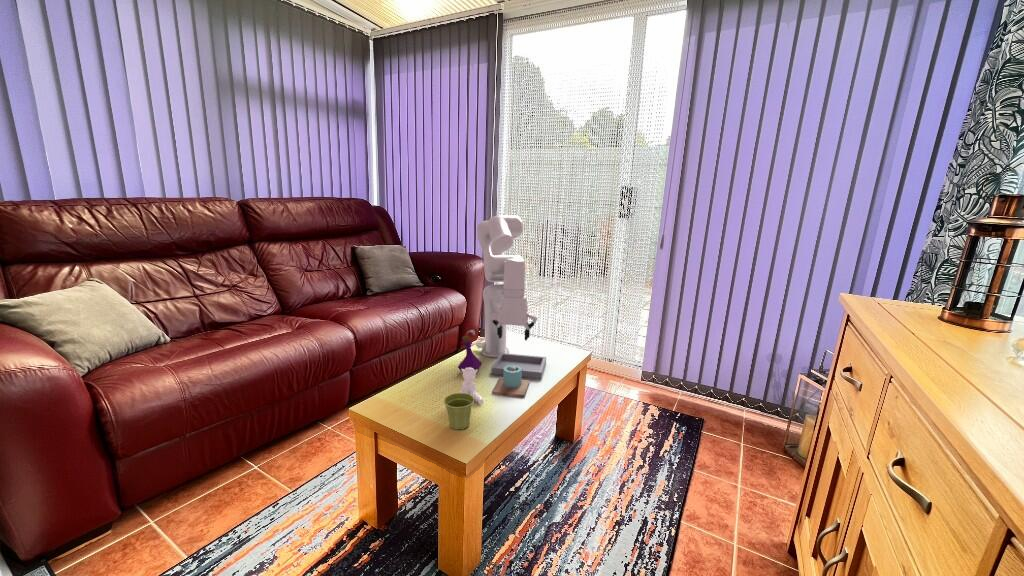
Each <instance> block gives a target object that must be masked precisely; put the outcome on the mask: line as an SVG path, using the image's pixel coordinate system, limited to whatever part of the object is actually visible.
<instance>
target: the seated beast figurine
mask: <svg viewBox="0 0 1024 576" xmlns="http://www.w3.org/2000/svg"><path fill="white" fill-rule="evenodd" d="M461 370H462V371H461ZM461 370H460V371H461V373H462V372H463V373H462V377H463V379H464V380H463V381H462V384H461V388H460V391H459V393H467V394H470V395H472V396H473V397H474V403H473V404H479V405H480V406H481V404H482V405H483V403H484V400H483V398H482V396H481V395H480V394H479V393H478V390H477V388H476V383H475V381H474V379H475V378H476V376H477V375H476V374H477V372H478V371H479V369H477V370H478V371H477V370H474V369H473V368H471V367H469V368H465V369H461Z"/></svg>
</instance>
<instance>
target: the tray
mask: <svg viewBox="0 0 1024 576" xmlns="http://www.w3.org/2000/svg"><path fill="white" fill-rule="evenodd" d="M509 365H516V366H519V367H521V368H522V379H532V380H541V381H542V378H543V375H544V372H545V368H546V365H547V356H539V355H538V356H537V355H526V354H517V353H509V354H507V353H500V355H499V357H497V359H496V360H495V362H494V364H492V367H491V375H493V376H500V377H501V376H503V370H504V367H506V366H509Z"/></svg>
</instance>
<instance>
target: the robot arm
mask: <svg viewBox="0 0 1024 576" xmlns="http://www.w3.org/2000/svg"><path fill="white" fill-rule="evenodd" d="M523 231H524V224H523V221H522V218H520V216H518V215H495V216H491V217H490V218H489V220H483V221H480V222H478V224H477V226H476V236H477V239H478V243H479V245H480V247H481V251H482V254H483V267H484V268H483V269H484V276H485V279H486V281H487V282H490V283H502V284H489V285H487V286H485V287H484V289H483V290H482V298H483V306H484V341H482V342H481V341H476V343H475V345H476V346H475V347H476V348H477V349H478V348H479V349H481V354H482V355H483V356H484V357H487V358H495V359H496V358H498V357H499V355H500V353H507V354H510V349H509V348H508V347H507V326H508V325H509V326H523V327H524V328H525V329H524V341H526V342H527V341H528V339H529V338H530V337H531V335H530V333H531V332H530V331H531V329H532V328H533V327H534V326H535V324H536V322H537V321H538V319H539V318H538V316H535V315H534V314H532V313H530V312H529V311H528V310H529V309H528V300H527V296H526V295H525V286H526V284H525V282H526V280H525V279H526V263H525V260H524V258H523V257H522V256H521V255H519V254H503V253H504V252H506V251H508V250H510V248H512V246H513V244H514V239H517V238H519V237H520V236H521V235H522V233H523ZM529 319H531V320H532V321H531V322H530V323H529V322H528V320H529Z"/></svg>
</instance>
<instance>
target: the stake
mask: <svg viewBox="0 0 1024 576" xmlns="http://www.w3.org/2000/svg"><path fill="white" fill-rule="evenodd" d="M509 371H516V367H514V366H511V367H509ZM530 384H531V383H530V380H526V379H522V380H521V386H519V387H515V388H511V387H506V386H505V385H504V384H503V377H499V378H498V379H497V381H496V383H495V384H494V387H493V388H492V391H491V395H497V396H507V397H516V398H526V395H527V391H528V389H529V387H530Z"/></svg>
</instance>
